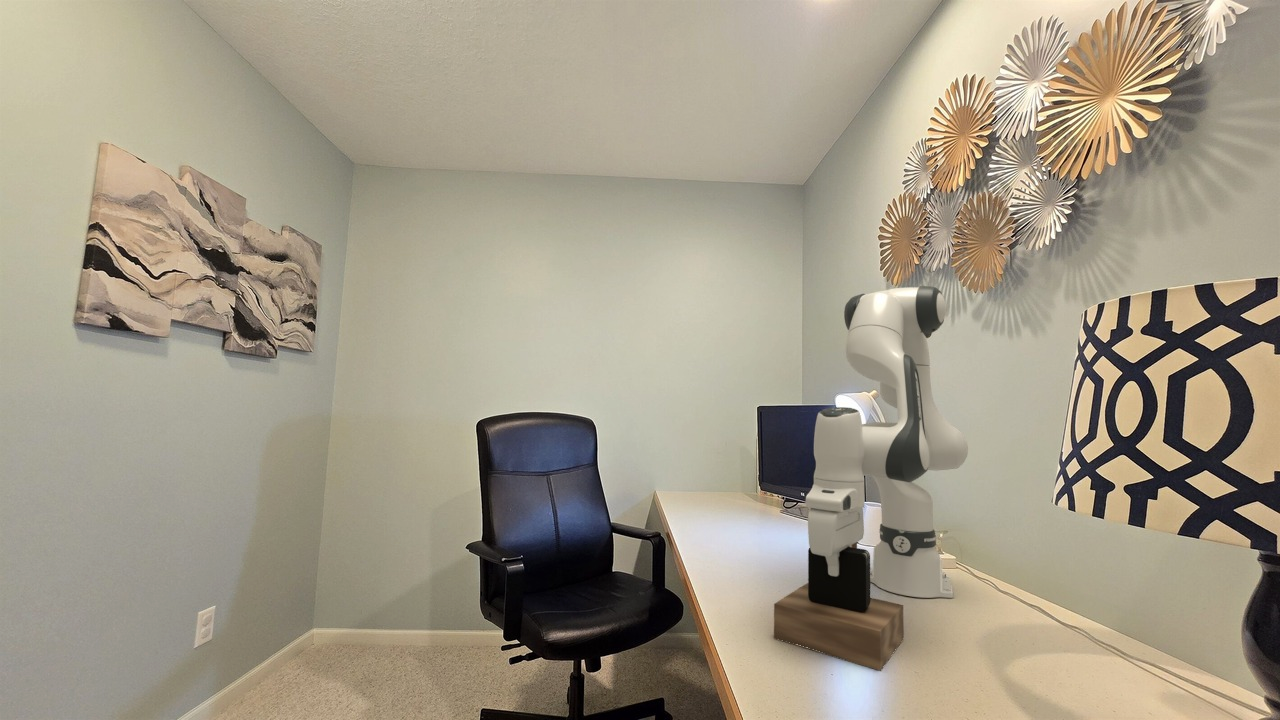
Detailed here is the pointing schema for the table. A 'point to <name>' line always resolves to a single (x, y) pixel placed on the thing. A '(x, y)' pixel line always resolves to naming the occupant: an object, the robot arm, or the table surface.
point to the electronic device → (841, 580)
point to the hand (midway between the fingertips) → (838, 572)
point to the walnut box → (840, 628)
